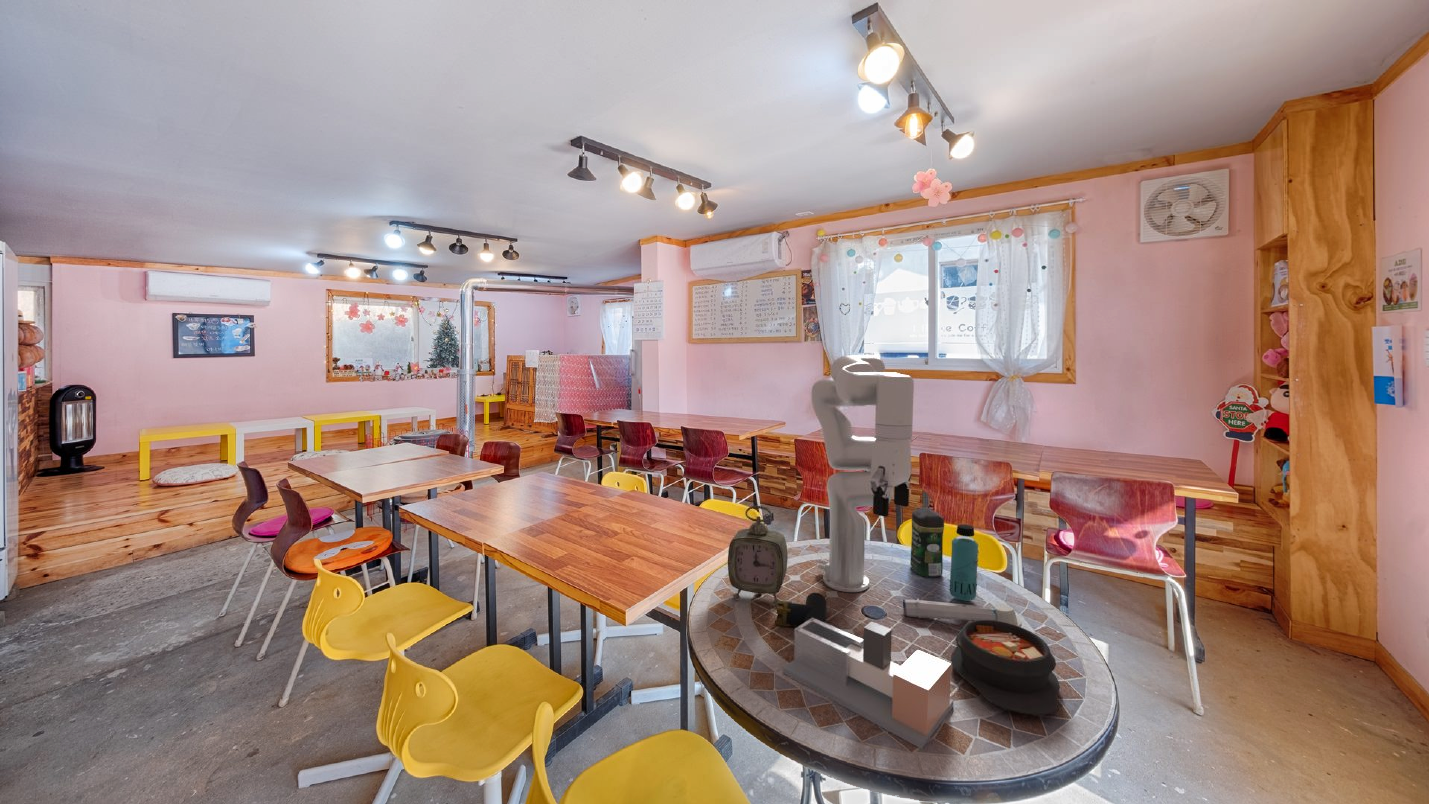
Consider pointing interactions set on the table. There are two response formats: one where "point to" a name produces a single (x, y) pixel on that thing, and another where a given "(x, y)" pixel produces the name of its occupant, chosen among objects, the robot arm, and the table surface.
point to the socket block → (921, 691)
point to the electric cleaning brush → (959, 611)
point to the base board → (860, 701)
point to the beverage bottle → (964, 564)
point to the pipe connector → (801, 611)
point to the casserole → (1007, 666)
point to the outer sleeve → (825, 649)
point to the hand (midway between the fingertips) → (891, 510)
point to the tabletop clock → (757, 558)
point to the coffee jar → (927, 542)
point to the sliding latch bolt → (874, 659)
